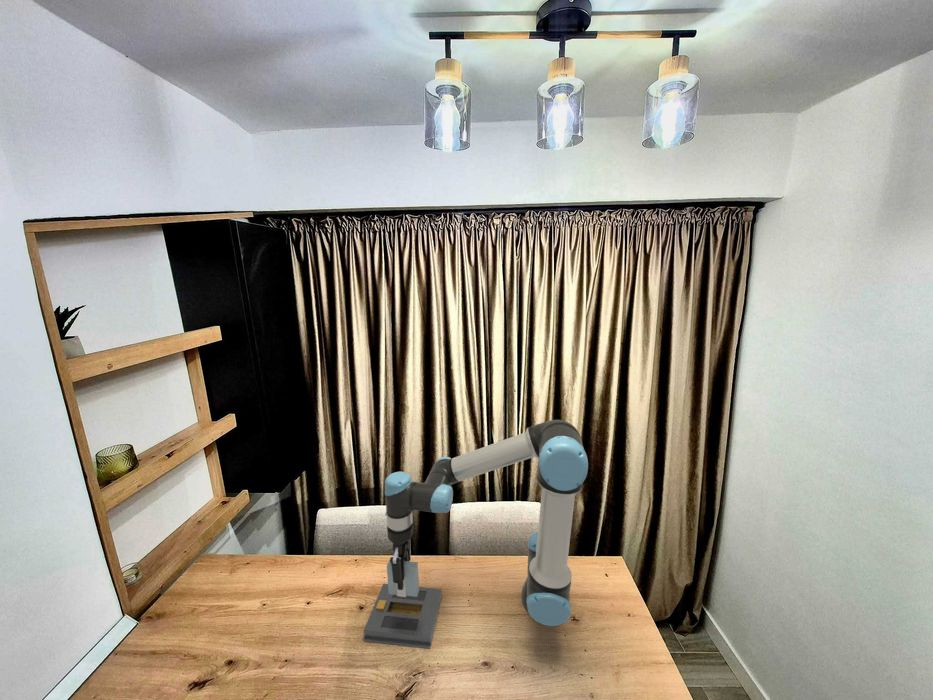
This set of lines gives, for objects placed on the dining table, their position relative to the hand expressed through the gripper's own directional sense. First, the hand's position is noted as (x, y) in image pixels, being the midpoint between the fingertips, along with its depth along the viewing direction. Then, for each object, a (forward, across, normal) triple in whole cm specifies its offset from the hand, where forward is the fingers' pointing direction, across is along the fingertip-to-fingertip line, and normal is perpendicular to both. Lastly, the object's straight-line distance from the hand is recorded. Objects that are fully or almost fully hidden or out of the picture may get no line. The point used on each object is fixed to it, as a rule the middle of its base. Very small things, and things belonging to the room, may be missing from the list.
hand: (403, 591), depth 114 cm
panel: (0, 0, 0) cm, 0 cm away
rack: (+10, 0, 0) cm, 10 cm away
